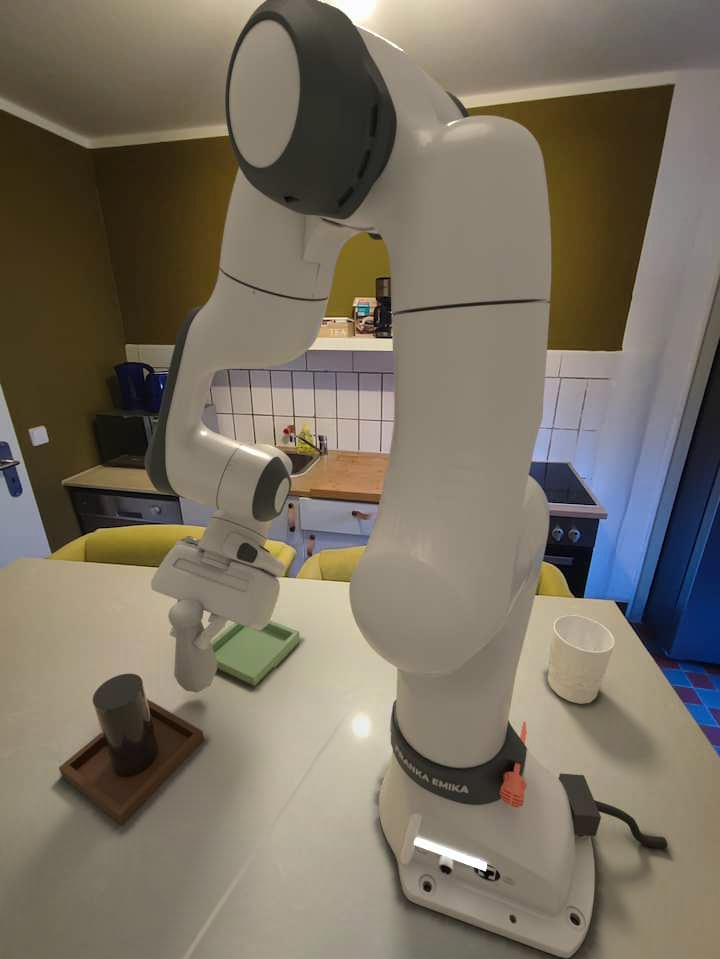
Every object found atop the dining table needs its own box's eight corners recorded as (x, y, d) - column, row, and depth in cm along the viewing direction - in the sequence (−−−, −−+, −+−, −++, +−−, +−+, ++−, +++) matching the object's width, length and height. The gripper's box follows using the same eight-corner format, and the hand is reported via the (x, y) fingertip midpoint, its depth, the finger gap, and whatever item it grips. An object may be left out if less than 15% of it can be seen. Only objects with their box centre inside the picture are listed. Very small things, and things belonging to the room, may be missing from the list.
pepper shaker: (167, 748, 55) (152, 683, 51) (130, 785, 51) (110, 716, 47) (140, 731, 57) (124, 667, 53) (103, 765, 53) (82, 698, 49)
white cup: (607, 684, 65) (621, 631, 61) (591, 718, 60) (605, 661, 56) (554, 658, 70) (564, 607, 67) (535, 687, 65) (544, 633, 61)
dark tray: (204, 742, 56) (202, 730, 56) (123, 829, 47) (119, 816, 46) (146, 707, 62) (144, 696, 61) (62, 779, 52) (58, 767, 51)
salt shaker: (206, 700, 58) (191, 622, 54) (168, 694, 59) (151, 617, 55) (227, 668, 64) (215, 595, 59) (192, 663, 65) (178, 590, 60)
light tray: (300, 641, 74) (299, 631, 73) (255, 689, 65) (253, 678, 64) (248, 620, 79) (247, 611, 79) (200, 662, 70) (198, 652, 69)
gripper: (167, 526, 65) (121, 616, 60) (273, 557, 56) (228, 666, 51) (194, 540, 70) (154, 623, 66) (296, 570, 61) (257, 670, 57)
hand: (187, 642), depth 58 cm, fingers closed on salt shaker, 3 cm apart
